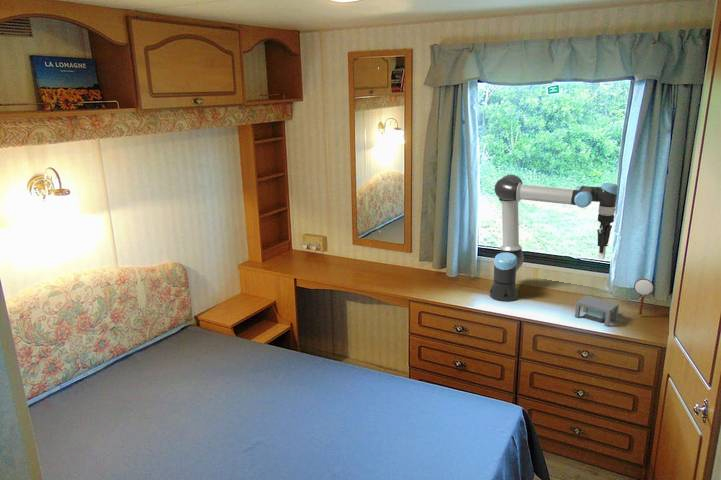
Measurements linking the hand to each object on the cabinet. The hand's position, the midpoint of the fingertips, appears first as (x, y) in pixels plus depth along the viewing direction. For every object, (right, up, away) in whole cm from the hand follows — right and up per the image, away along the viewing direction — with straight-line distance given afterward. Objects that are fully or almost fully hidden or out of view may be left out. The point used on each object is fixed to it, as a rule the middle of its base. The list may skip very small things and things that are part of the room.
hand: (601, 258), depth 273 cm
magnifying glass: (+14, -29, -11) cm, 34 cm away
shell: (-6, -29, -10) cm, 31 cm away
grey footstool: (-8, -29, -12) cm, 33 cm away
